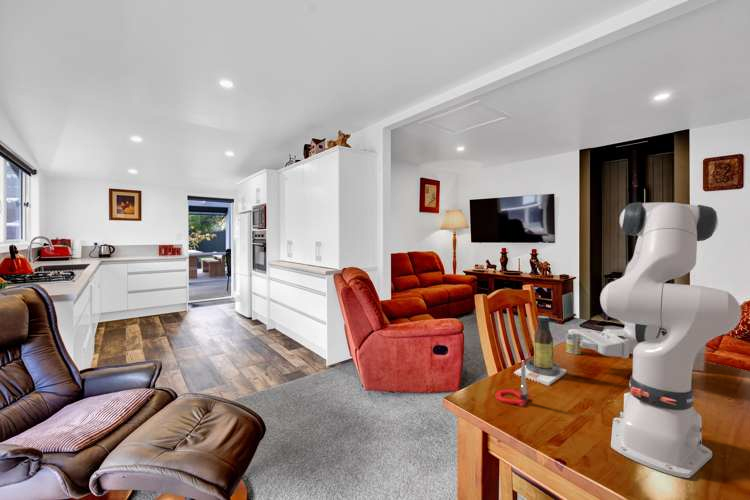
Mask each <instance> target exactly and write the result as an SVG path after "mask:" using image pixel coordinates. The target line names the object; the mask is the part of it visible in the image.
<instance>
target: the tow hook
mask: <svg viewBox="0 0 750 500" xmlns="http://www.w3.org/2000/svg"><path fill="white" fill-rule="evenodd" d="M525 365H526V364H525V360H524V359H523V360H521V367H520V368H521V378H520V379H521V385H520V392H519V391H516V390H512V389H499V390H498V391H496V392H495V398H496V399H497V400H498V401H500V402H502V403H504V404H505V403H506V404H511V405H518V406H520V407H524V406H525V405H526V403H528V401H529V400H530V398H531V396H530V395H529V393H528V388H527V387H528V386H527V384H526V383H527V381H526V379H527V378H526V373H525ZM502 395H514V396H515V397H518V398H519V399H518V398H515V399H510V398H507V397H503V396H502Z"/></svg>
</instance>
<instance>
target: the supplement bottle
mask: <svg viewBox="0 0 750 500" xmlns="http://www.w3.org/2000/svg"><path fill="white" fill-rule="evenodd" d="M573 330H574V329H573V328H571V329H568V333H567V334H572V333H573ZM565 340H566V344H565V345H566V346H565V352H567V353H569V354H572V355H580V354H581V353H582V351H581V350H582V349H581V347H580V346H579V345H580V344H579V343H580V341H578V340H576V339H573V340H568V339H567V338H566V337H565Z"/></svg>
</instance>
